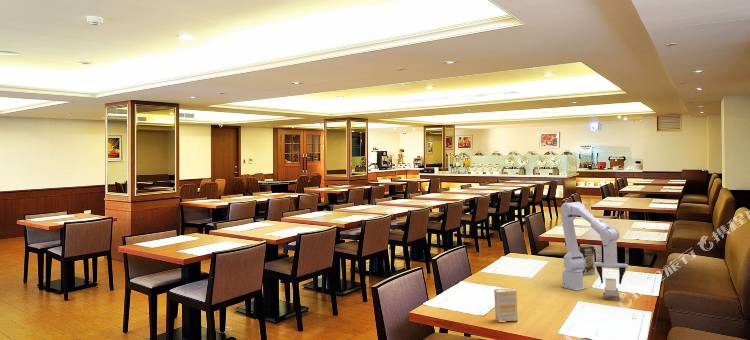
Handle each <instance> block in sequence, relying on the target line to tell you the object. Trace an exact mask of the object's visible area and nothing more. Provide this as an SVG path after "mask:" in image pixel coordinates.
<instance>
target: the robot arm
mask: <svg viewBox="0 0 750 340" xmlns="http://www.w3.org/2000/svg"><path fill="white" fill-rule="evenodd" d="M559 209H560V214H561V223H562V228H563V229H562V230H563V235H564V241H565V248H566V251H567V252H566V254H565V255H564V256H563V268H564V270H563V272H562V275H561V276H562V278H561V279H562V280H561V281H562V286H561V288H563V287H564V288H565V289H568V290H572V291H582V290H586V289H587V288H588V287H587V286H584V276H583V271H584V268H585V267H586V262H585V260H584V257H583V254H582V253H580V252H579V250H578V246H579V245H578V241H577V235H576V228H575V224H574V221H575V219H576V218H577V217H579V216H580V217H581V218H582V219H584V220H585V221H586V222H588V223H589V224H590V228H592V230H593V231H595V232H596V233H597V234H598V235H599V238H600V239H601V244H602V245H603V246H602V248H603V250H602V251H603V262H595V263H594V267H595V270H596V271H597V273H598V276H599V278H600V284H604V280H603V279H604V278H603V268H607V269H608V268H609V269H618V276H619V277H618V283H619V284H618V285H622V281H623V277H624V276H625V275H624V274H626V272H627V271H626V270H627V269H629V264H628V263H620V262H618V249H617V247H618V245H617V243H618V240H619V239H620V232H619V231H618V229H617V228H615V227H611V226H609V225H608V224H607V223H605V222H604V219H602V218H596V217H595V216H594V215H593V214H592V213H591V212H590V211H589V210H588V209H587V208H586V206H585V204H583V203H582V202H581V201H575V202H573V201H572V202H563V203H562V205H561V206H560V208H559ZM575 257H576V258H575Z"/></svg>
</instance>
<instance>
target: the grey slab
mask: <svg viewBox="0 0 750 340" xmlns="http://www.w3.org/2000/svg"><path fill="white" fill-rule="evenodd" d="M604 292H605V296H619V297H620V294H619V295H618V293H619V289H618V287H616V291H613V290H606V287H604Z"/></svg>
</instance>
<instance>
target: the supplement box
mask: <svg viewBox="0 0 750 340" xmlns="http://www.w3.org/2000/svg"><path fill="white" fill-rule="evenodd" d="M493 290H494V291H493V294H494V313H495V314H494V315H495V320H496V319H497V320H498V321H518V304H517V303H518V302H517V301H518V300H517V299H518V298H517V297H518V296H517V290H516V289H514V288H512V287H511V288H494V289H493ZM497 320H496V321H497ZM498 321H497V322H498Z"/></svg>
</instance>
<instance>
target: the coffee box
mask: <svg viewBox="0 0 750 340" xmlns="http://www.w3.org/2000/svg"><path fill="white" fill-rule="evenodd" d="M578 250H579V252H580V253H582V254H583V257H584V260H585V262H586V267H585V268H584V271H583V275H585V276H590V275H589V274H595V275H596V267H594V263H596V259H595V246H593V245H589V244H586V245H585V244H584V245H578ZM574 258H576V257H574Z"/></svg>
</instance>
